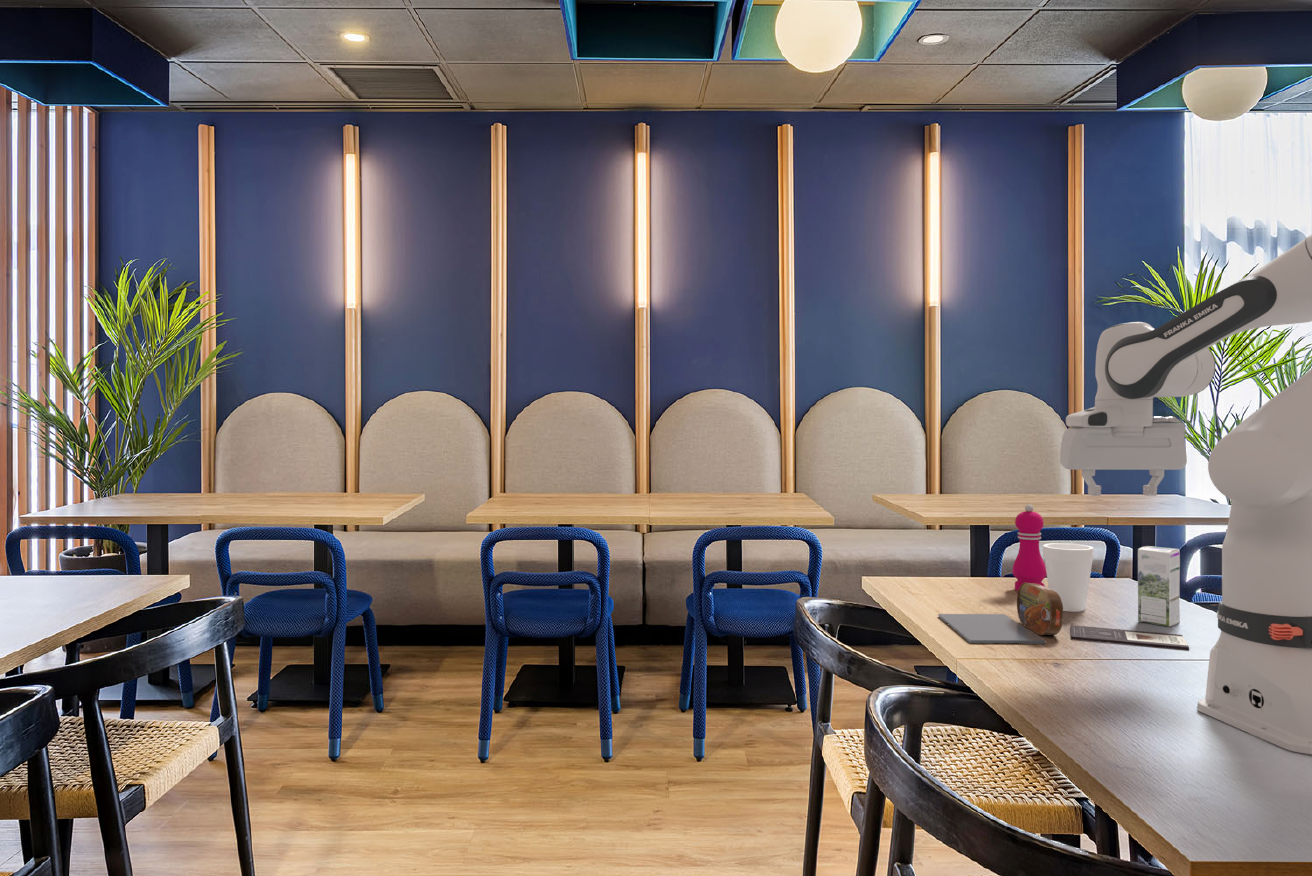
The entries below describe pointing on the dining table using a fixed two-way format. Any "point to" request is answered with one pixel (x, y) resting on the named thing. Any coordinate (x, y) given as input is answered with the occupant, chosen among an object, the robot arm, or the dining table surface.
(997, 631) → the slate board
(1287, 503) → the robot arm
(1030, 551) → the pepper mill
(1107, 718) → the dining table surface
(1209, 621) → the dining table surface
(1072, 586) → the foam cup
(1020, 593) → the tin
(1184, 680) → the dining table surface
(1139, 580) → the syrup box
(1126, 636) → the chocolate bar
